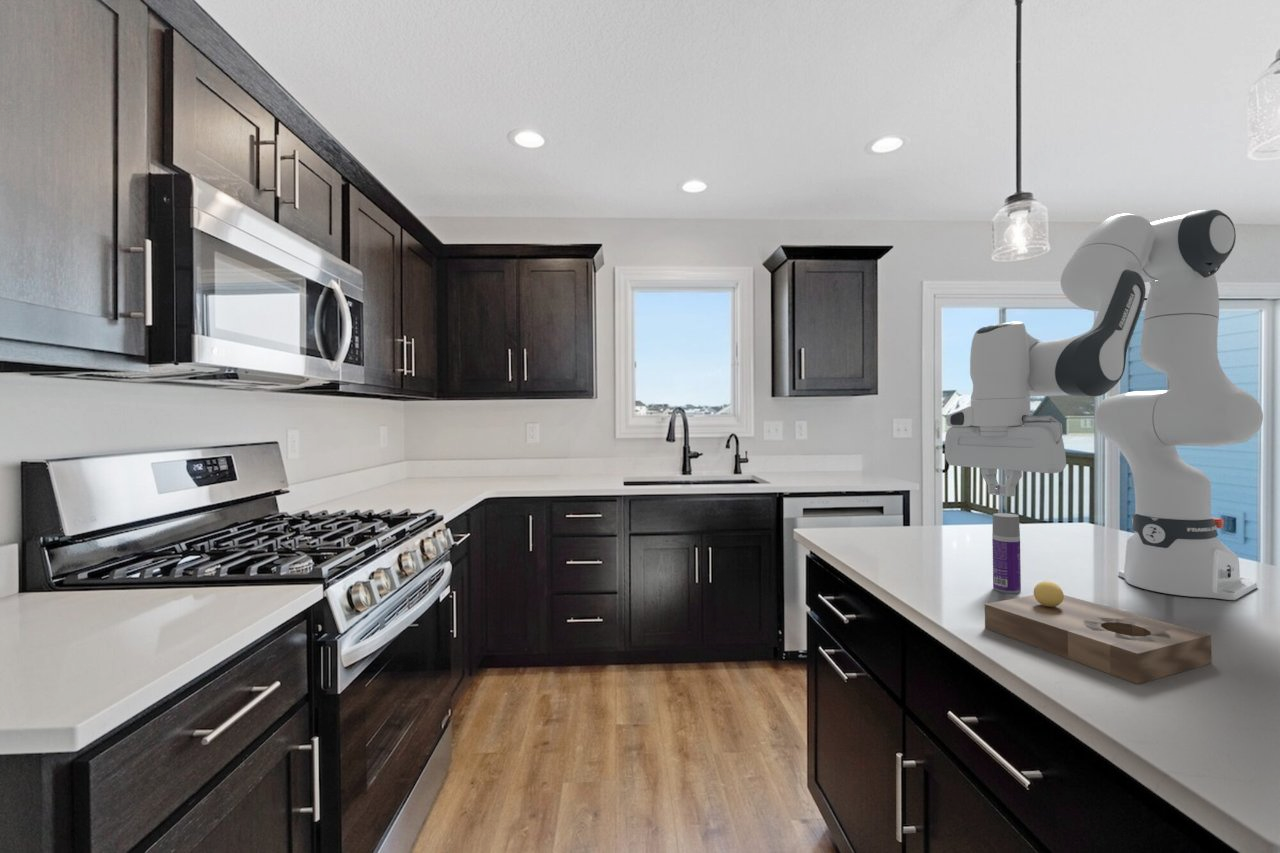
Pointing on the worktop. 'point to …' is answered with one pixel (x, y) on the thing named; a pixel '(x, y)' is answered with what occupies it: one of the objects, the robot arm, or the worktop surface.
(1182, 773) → the worktop surface
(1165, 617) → the worktop surface
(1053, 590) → the ball
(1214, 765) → the worktop surface
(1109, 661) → the board
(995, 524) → the container
